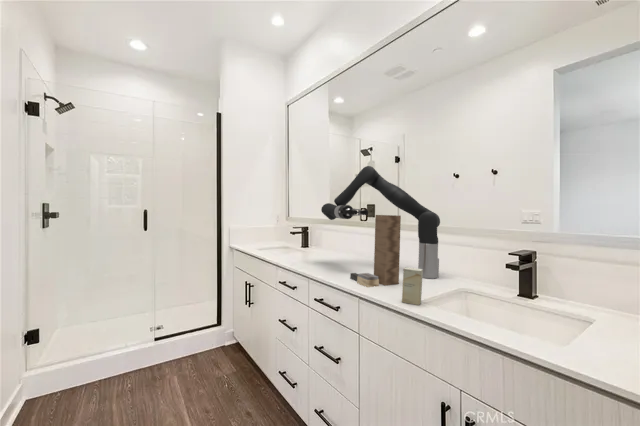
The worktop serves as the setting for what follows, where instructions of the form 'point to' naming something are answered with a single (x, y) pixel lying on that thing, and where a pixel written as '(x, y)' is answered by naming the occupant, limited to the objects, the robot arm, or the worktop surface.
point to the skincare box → (412, 285)
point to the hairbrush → (365, 279)
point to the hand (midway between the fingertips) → (360, 212)
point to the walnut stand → (387, 249)
